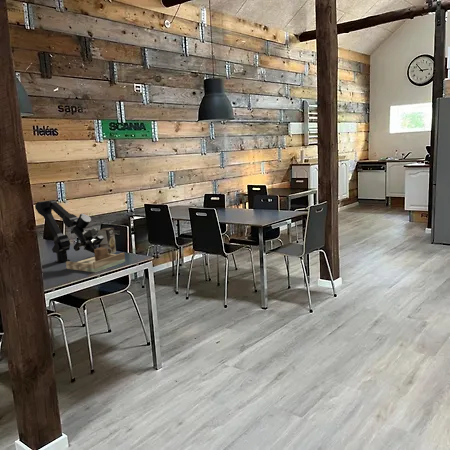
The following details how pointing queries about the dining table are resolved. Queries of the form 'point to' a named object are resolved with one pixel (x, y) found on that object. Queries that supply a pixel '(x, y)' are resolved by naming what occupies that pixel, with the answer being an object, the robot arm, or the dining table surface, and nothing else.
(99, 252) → the walnut block
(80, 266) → the trap lane
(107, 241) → the coffee box
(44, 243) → the dining table surface
